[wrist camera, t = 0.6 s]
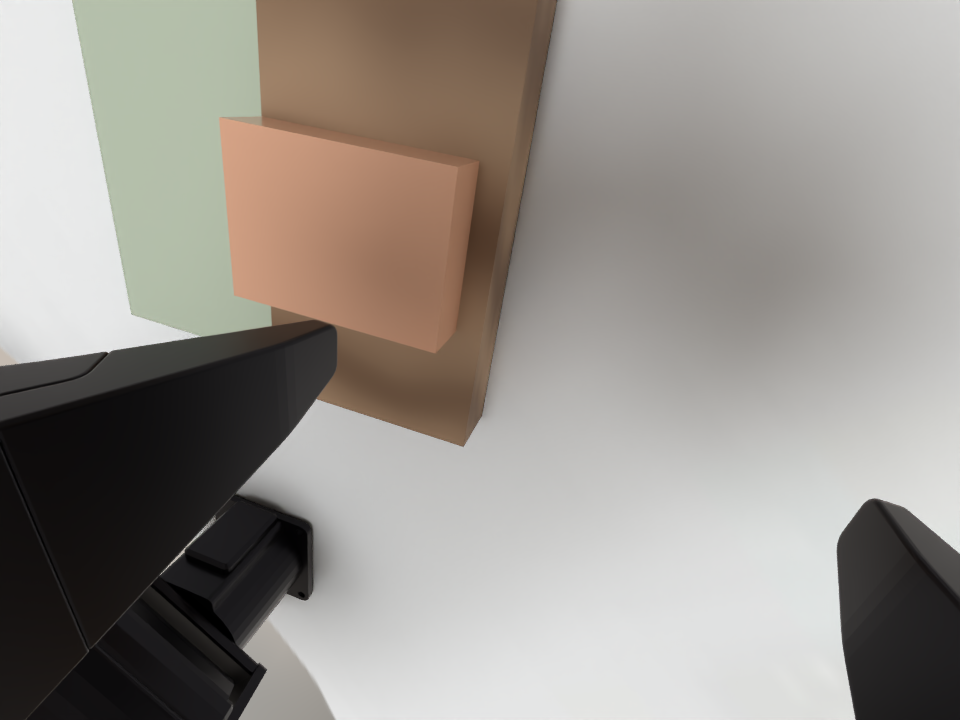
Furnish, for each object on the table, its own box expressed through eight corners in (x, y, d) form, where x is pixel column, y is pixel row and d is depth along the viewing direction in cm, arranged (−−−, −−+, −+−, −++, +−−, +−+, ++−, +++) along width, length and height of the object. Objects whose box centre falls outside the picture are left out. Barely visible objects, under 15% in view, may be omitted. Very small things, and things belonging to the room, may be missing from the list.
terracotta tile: (455, 331, 19) (435, 353, 17) (269, 280, 21) (233, 295, 19) (479, 160, 16) (457, 167, 15) (261, 116, 18) (219, 117, 16)
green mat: (300, 359, 25) (292, 364, 25) (141, 310, 27) (131, 314, 27) (292, -47, 18) (281, -51, 17) (72, -75, 20) (56, -80, 19)
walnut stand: (481, 415, 23) (463, 446, 21) (307, 361, 25) (274, 385, 23) (559, -13, 16) (542, -31, 14) (302, -45, 18) (252, -67, 16)
